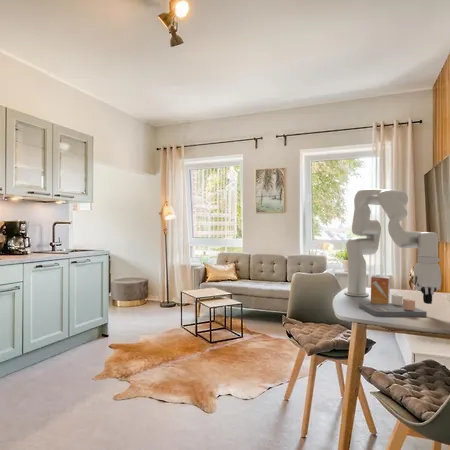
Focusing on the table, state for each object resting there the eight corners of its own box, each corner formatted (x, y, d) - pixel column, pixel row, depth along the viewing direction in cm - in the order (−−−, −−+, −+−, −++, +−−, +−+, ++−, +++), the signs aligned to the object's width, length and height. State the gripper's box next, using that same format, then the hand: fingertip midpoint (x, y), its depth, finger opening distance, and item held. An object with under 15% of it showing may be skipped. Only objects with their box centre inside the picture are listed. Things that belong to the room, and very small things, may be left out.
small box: (370, 303, 175) (370, 276, 175) (372, 300, 180) (372, 275, 180) (388, 305, 171) (388, 278, 171) (389, 302, 176) (390, 276, 176)
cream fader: (391, 303, 164) (391, 294, 164) (397, 303, 164) (397, 294, 164) (396, 304, 160) (396, 295, 160) (402, 304, 160) (402, 295, 160)
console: (359, 307, 164) (359, 303, 164) (405, 307, 165) (405, 303, 165) (375, 316, 148) (375, 311, 148) (426, 316, 149) (426, 311, 149)
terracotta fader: (402, 307, 154) (403, 298, 154) (409, 308, 154) (409, 298, 154) (408, 310, 150) (408, 300, 150) (414, 310, 150) (415, 300, 150)
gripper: (438, 260, 157) (438, 301, 156) (406, 259, 156) (405, 301, 156) (450, 261, 149) (450, 305, 149) (415, 261, 149) (415, 305, 148)
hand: (427, 303), depth 152 cm, fingers closed
